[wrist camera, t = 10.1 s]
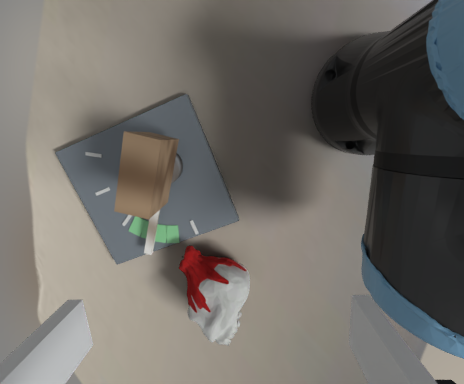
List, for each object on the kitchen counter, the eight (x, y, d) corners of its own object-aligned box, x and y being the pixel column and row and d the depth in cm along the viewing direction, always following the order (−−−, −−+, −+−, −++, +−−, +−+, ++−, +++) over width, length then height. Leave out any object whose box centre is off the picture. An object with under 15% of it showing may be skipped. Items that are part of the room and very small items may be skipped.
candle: (228, 322, 43) (168, 263, 43) (274, 284, 40) (211, 221, 40) (218, 366, 34) (143, 291, 34) (276, 320, 31) (195, 240, 31)
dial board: (188, 95, 34) (186, 93, 33) (239, 218, 39) (239, 221, 37) (60, 152, 37) (54, 152, 36) (120, 261, 41) (116, 265, 40)
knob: (153, 131, 35) (118, 130, 25) (188, 139, 35) (166, 141, 25) (136, 245, 39) (100, 281, 29) (167, 252, 39) (142, 291, 29)
